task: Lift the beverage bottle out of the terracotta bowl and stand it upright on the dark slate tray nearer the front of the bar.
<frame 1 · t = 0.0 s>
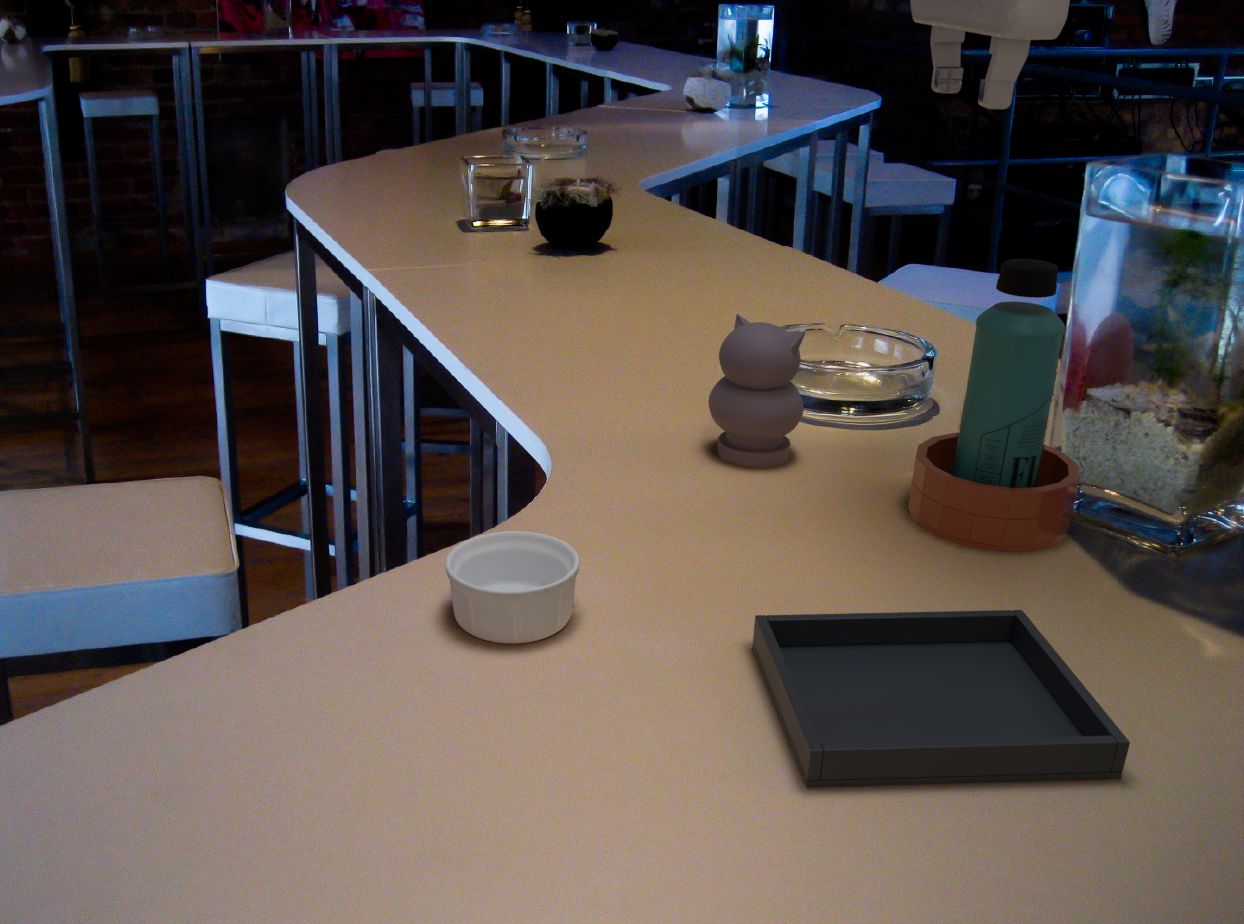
hand: (968, 99, 87), 31 cm above the worktop, tool pointing down, fingers open, 8 cm apart
bowl: (986, 518, 96), on the worktop
beverage bottle: (986, 514, 96), resting on bowl
tray: (921, 708, 72), on the worktop
ramekin: (512, 618, 82), on the worktop
cat figurine: (751, 456, 108), on the worktop
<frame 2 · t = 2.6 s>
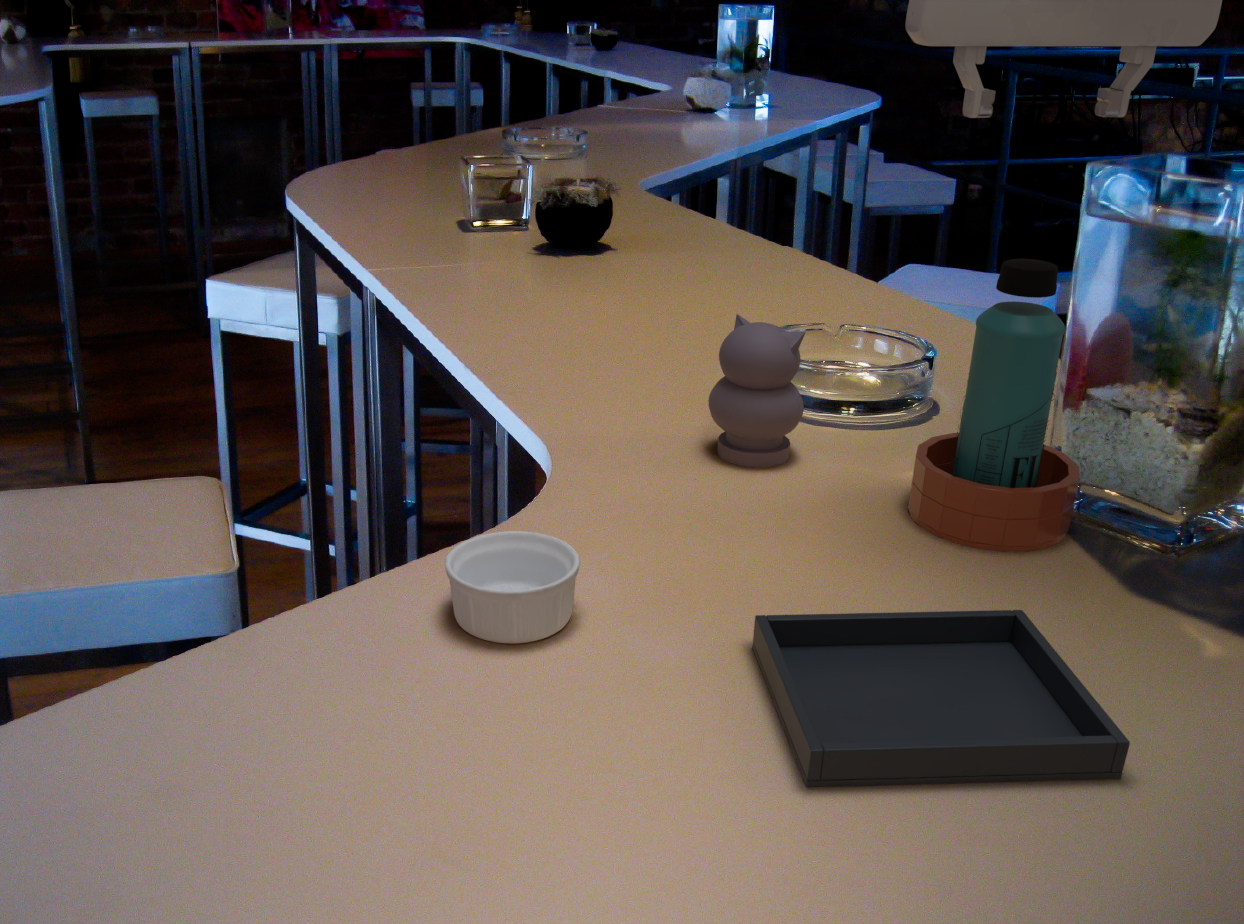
hand: (1043, 116, 84), 30 cm above the worktop, tool pointing down, fingers open, 8 cm apart
nothing on the worktop moved.
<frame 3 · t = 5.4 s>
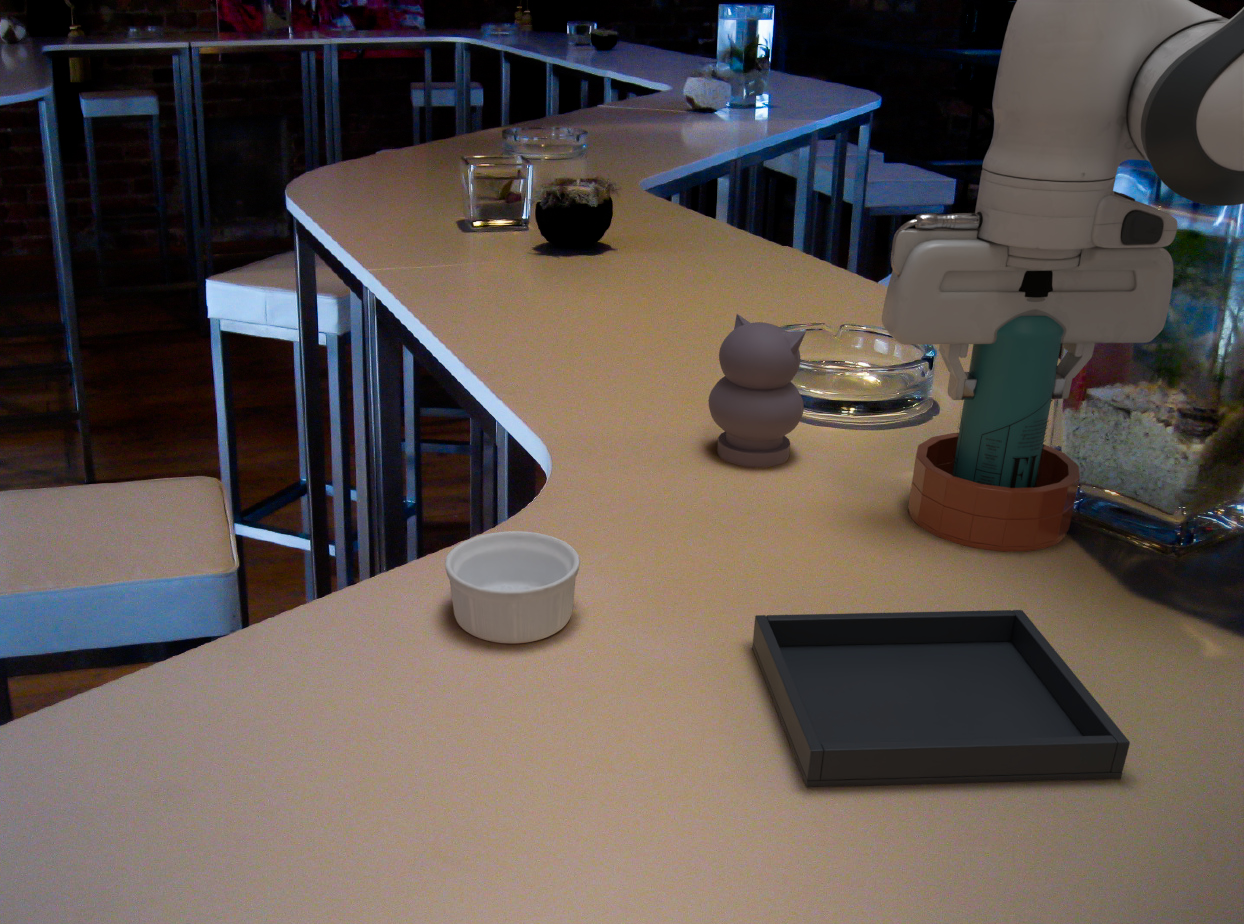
hand: (1007, 397, 92), 10 cm above the worktop, tool pointing down, fingers closed on beverage bottle, 6 cm apart
beverage bottle: (986, 514, 96), resting on bowl, touching gripper
everything else where it was.
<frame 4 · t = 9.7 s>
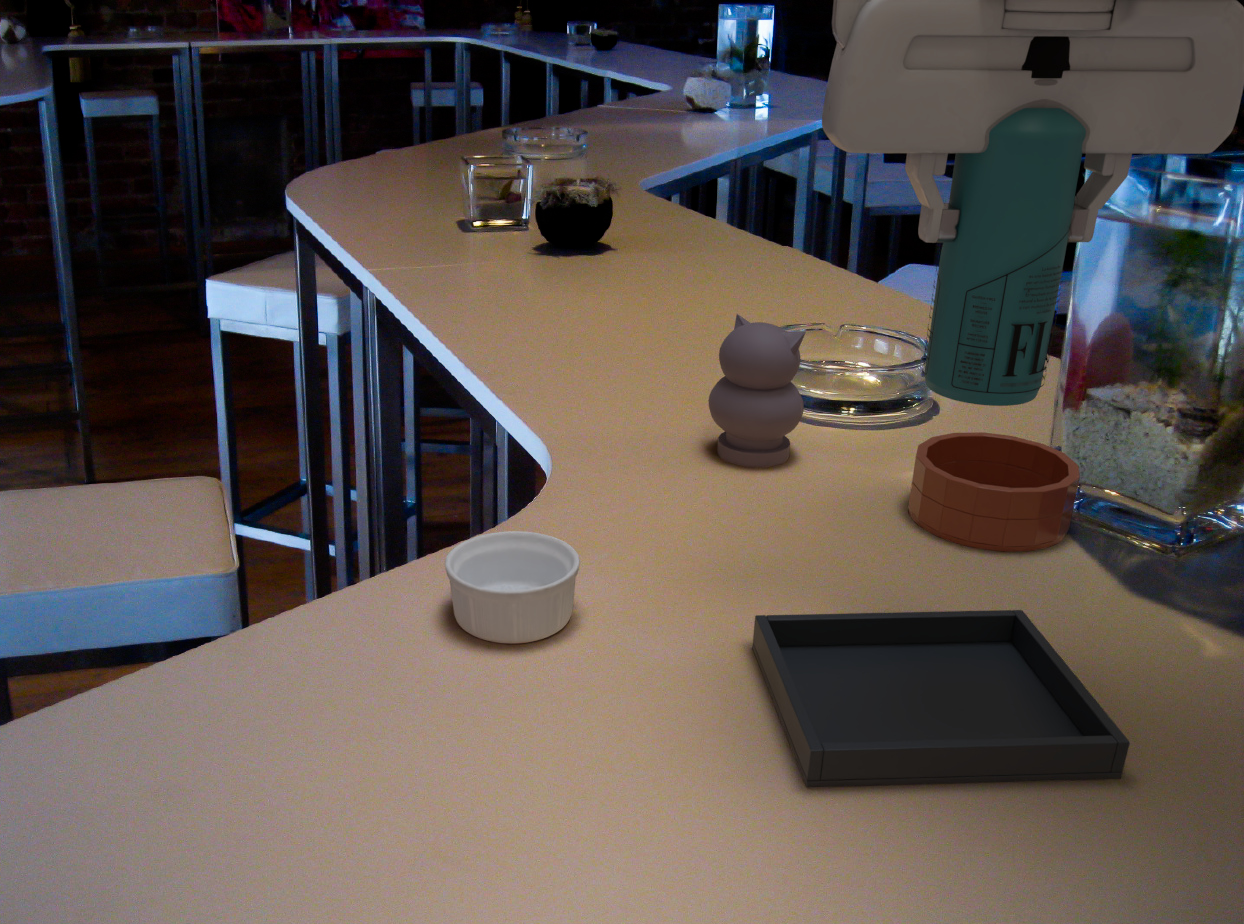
hand: (1004, 240, 64), 27 cm above the worktop, tool pointing down, fingers closed on beverage bottle, 6 cm apart
beverage bottle: (974, 415, 68), point 17 cm above the worktop, touching gripper
everything else where it was.
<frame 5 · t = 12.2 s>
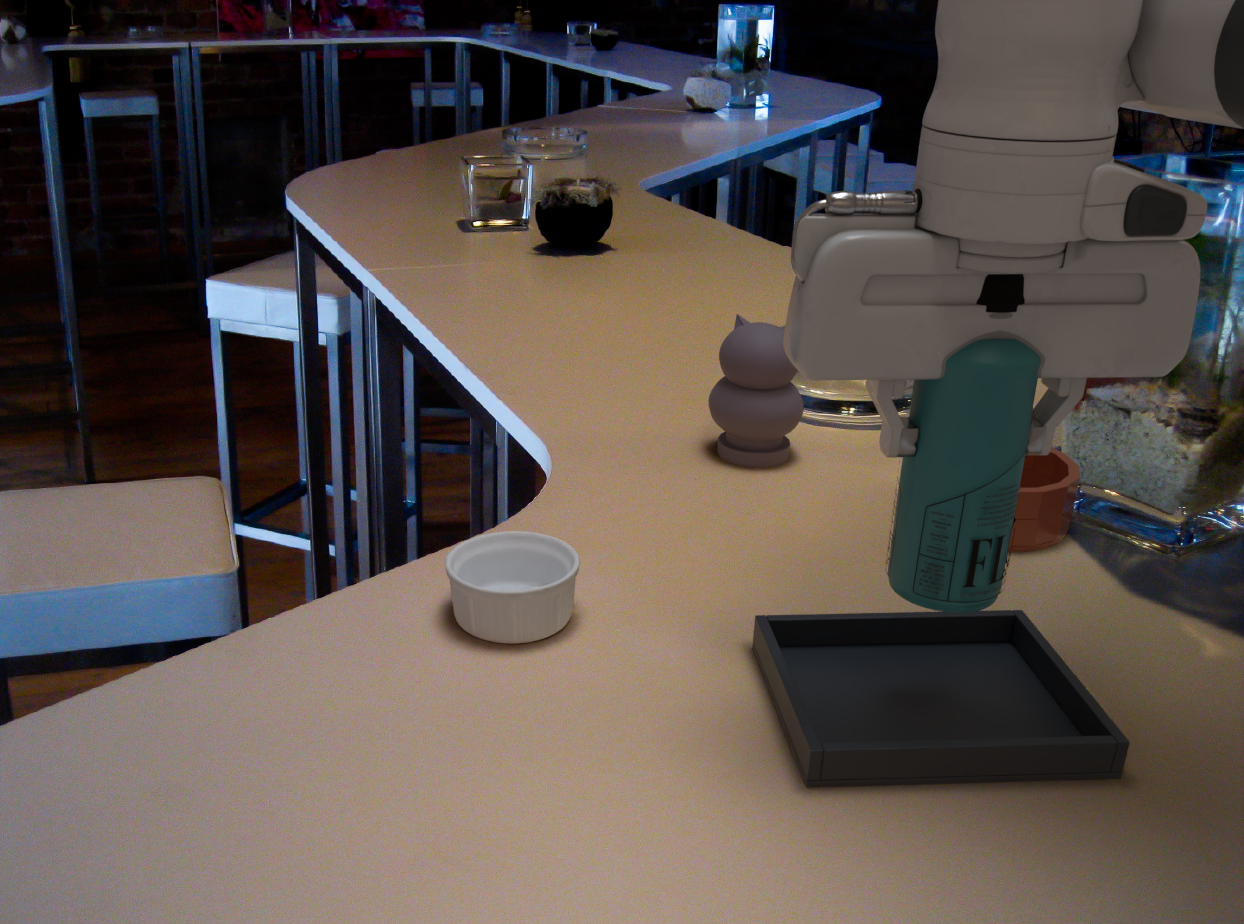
hand: (963, 452, 65), 16 cm above the worktop, tool pointing down, fingers closed on beverage bottle, 6 cm apart
beverage bottle: (937, 612, 69), point 7 cm above the worktop, touching gripper
everything else where it was.
when the fingers open (10 cm above the worktop, at t = 14.3 s): beverage bottle stays where it is, resting on tray.
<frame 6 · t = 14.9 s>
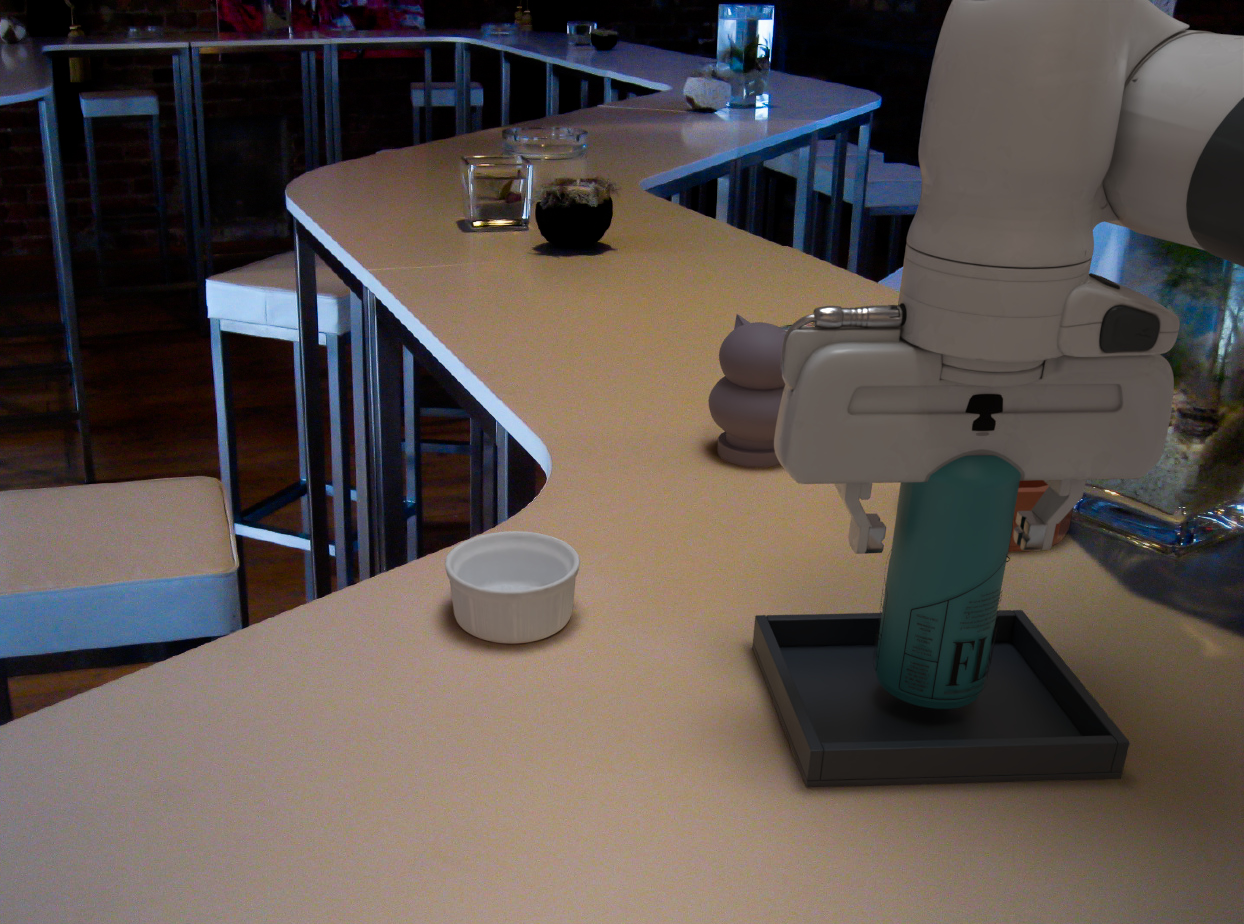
hand: (948, 547, 68), 11 cm above the worktop, tool pointing down, fingers open, 8 cm apart
beverage bottle: (922, 703, 72), resting on tray
everything else where it was.
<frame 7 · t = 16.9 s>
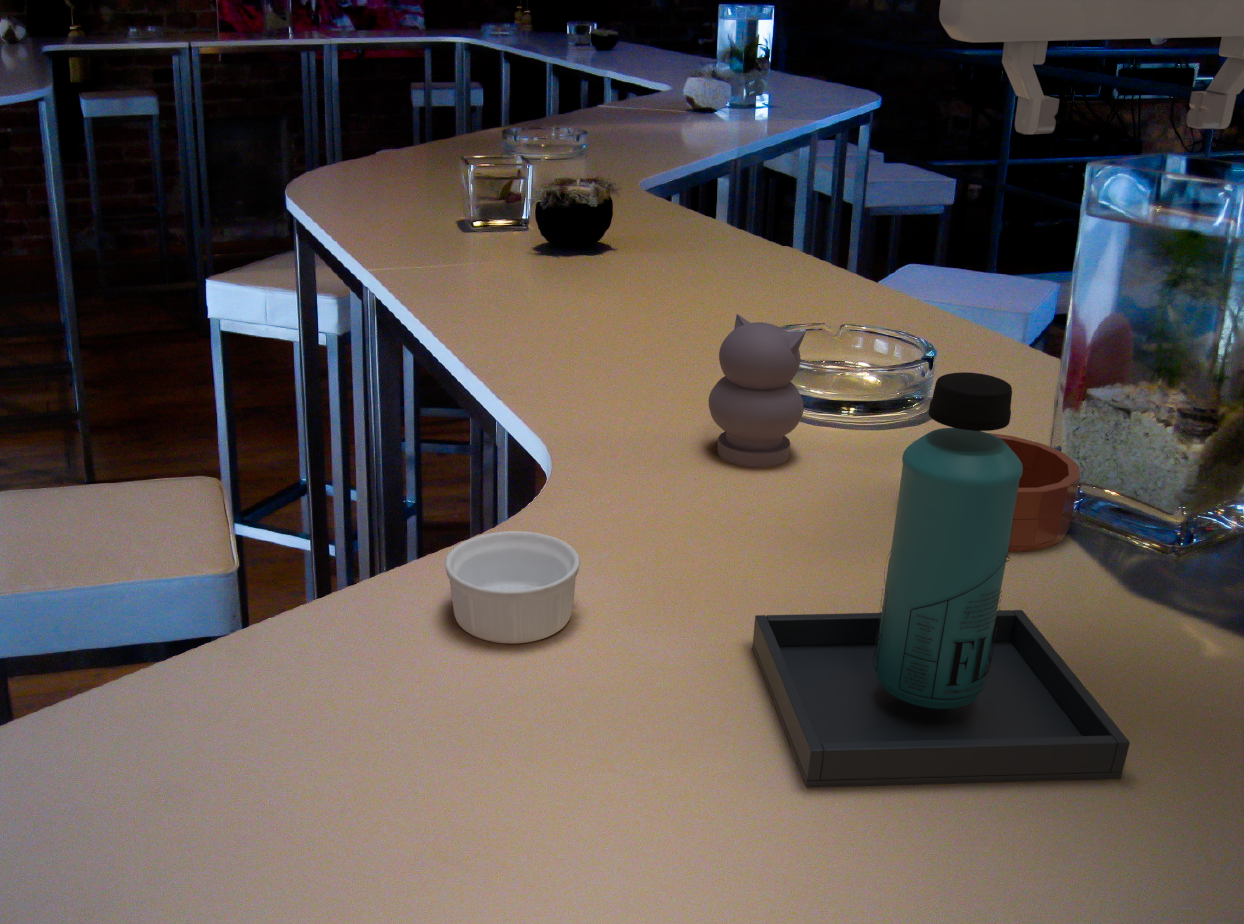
hand: (1120, 130, 64), 32 cm above the worktop, tool pointing down, fingers open, 8 cm apart
nothing on the worktop moved.
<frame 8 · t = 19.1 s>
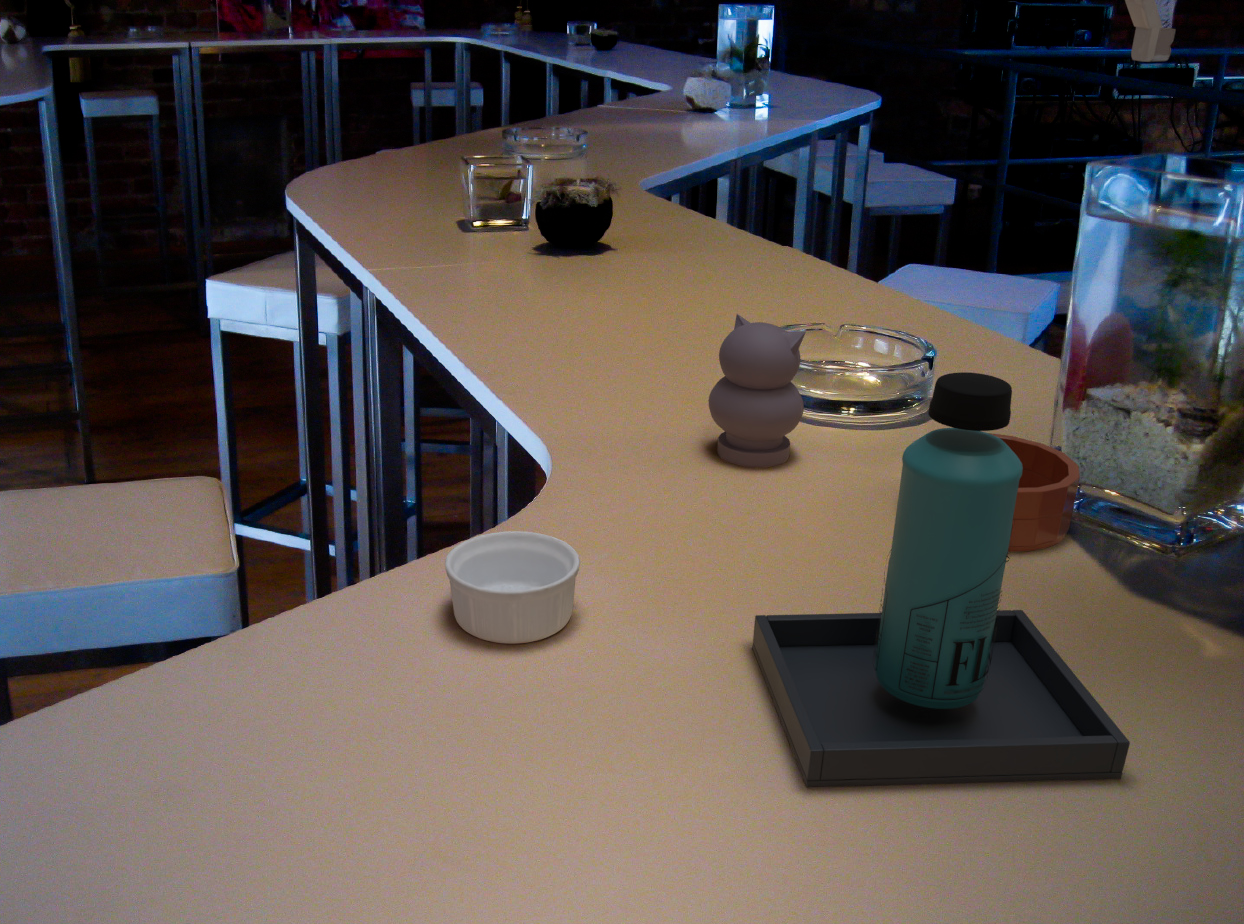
hand: (1227, 61, 71), 35 cm above the worktop, tool pointing down, fingers open, 8 cm apart
nothing on the worktop moved.
at the end: beverage bottle inside the target area in the tray (0.1 cm from its centre), point 0.3 cm above the tray's base; beverage bottle tilted 0°; the gripper is holding nothing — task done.
